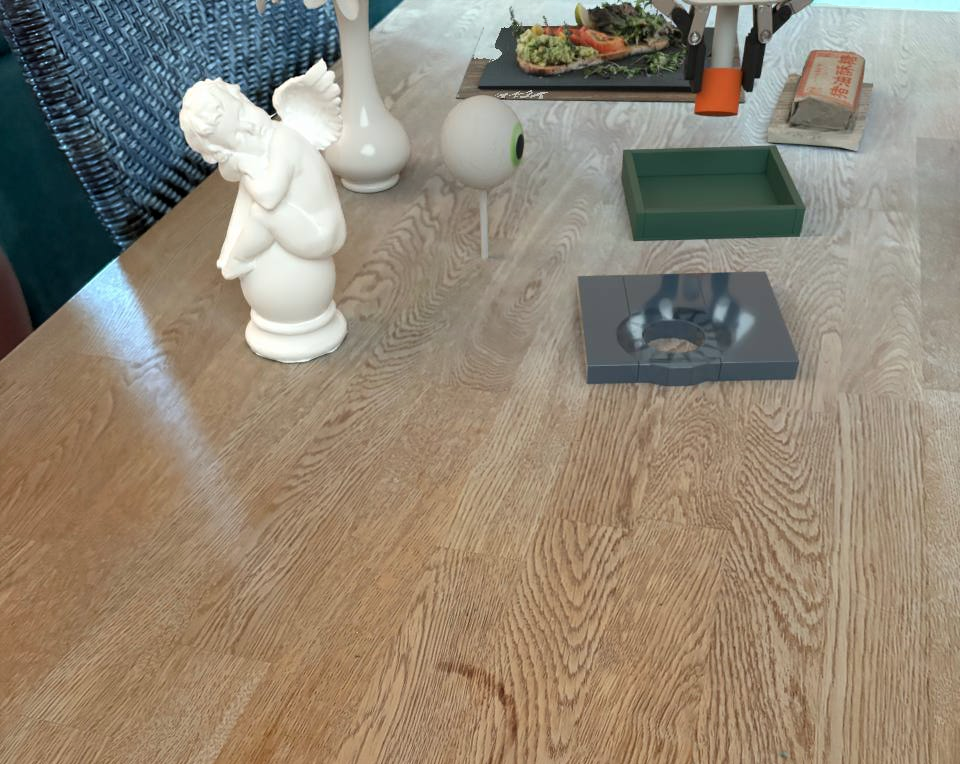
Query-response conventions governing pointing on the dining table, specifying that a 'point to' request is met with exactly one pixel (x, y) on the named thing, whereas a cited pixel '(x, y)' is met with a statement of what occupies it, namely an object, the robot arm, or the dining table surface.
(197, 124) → the cherub figurine
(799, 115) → the packaged product
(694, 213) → the green tray
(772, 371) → the plate
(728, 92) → the stopper
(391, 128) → the flower vase
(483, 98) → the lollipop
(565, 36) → the plated dish
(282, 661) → the dining table surface
